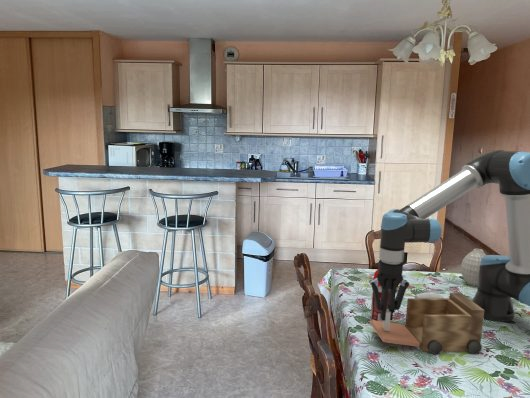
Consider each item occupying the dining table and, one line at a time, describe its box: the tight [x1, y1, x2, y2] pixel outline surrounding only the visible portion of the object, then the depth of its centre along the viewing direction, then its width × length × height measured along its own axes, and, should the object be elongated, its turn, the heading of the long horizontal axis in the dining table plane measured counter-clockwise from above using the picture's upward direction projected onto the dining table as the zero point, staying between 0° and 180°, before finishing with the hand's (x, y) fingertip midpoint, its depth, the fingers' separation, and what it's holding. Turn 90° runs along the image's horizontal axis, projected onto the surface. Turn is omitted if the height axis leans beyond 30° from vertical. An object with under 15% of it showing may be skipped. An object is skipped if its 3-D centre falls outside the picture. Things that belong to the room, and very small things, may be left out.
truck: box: [404, 292, 485, 355], centre depth 139 cm, size 19×17×14 cm
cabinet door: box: [369, 319, 420, 348], centre depth 138 cm, size 2×13×12 cm
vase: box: [460, 248, 487, 287], centre depth 193 cm, size 13×13×17 cm
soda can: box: [370, 286, 389, 321], centre depth 153 cm, size 7×7×12 cm
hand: (385, 329), depth 138 cm, fingers closed
